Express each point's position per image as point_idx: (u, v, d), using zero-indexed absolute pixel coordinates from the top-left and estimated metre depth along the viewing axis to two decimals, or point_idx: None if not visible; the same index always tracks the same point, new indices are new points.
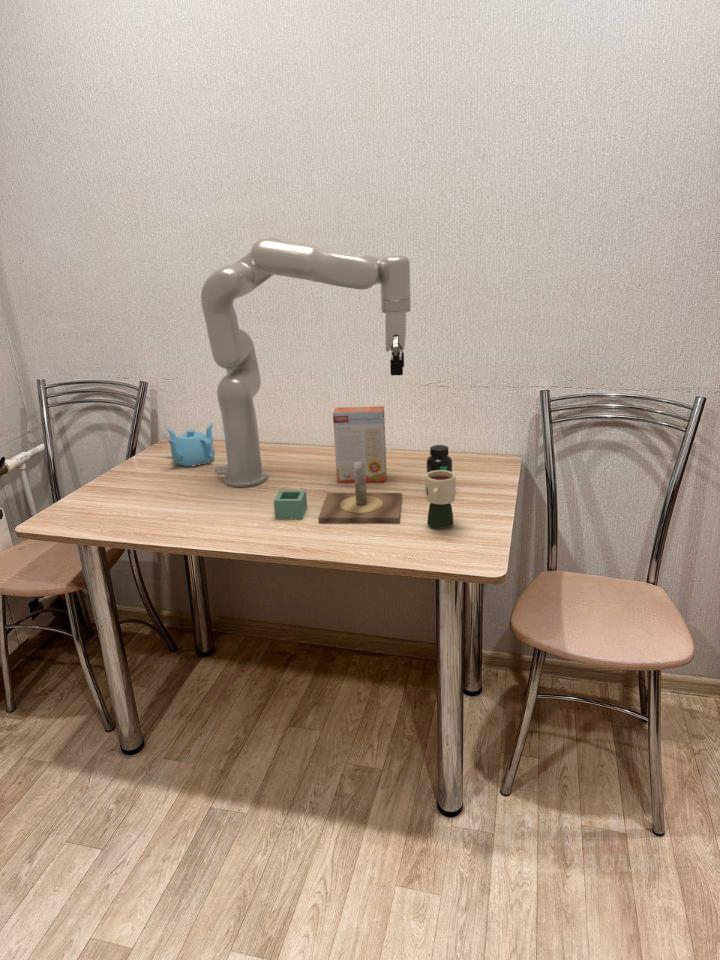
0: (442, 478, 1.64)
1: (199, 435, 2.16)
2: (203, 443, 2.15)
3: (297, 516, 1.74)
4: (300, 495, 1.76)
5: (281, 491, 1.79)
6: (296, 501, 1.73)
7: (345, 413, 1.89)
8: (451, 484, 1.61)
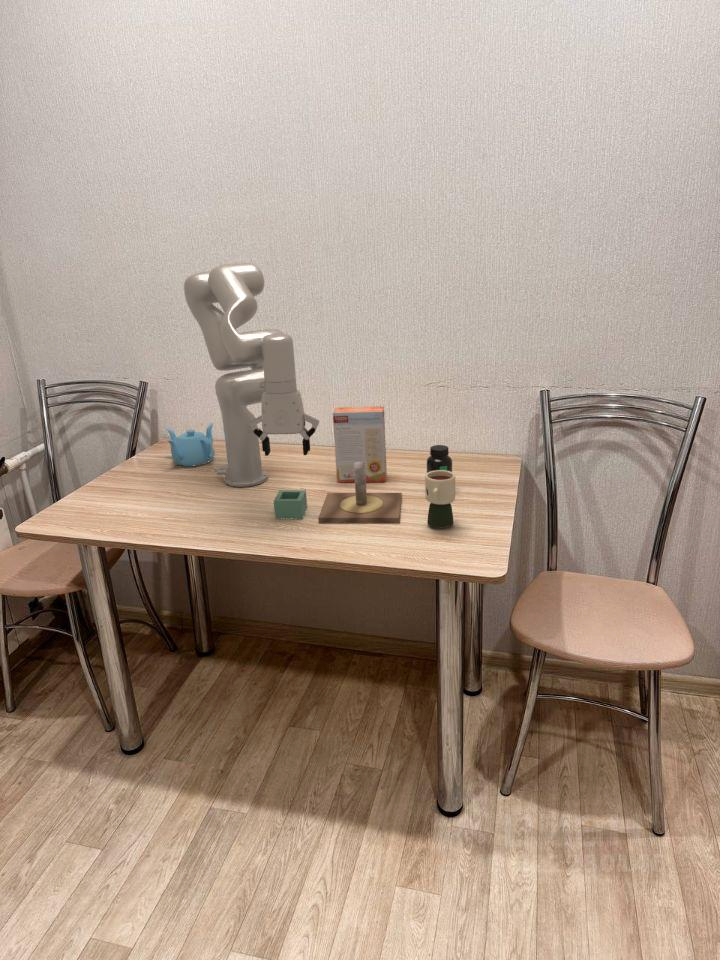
0: (442, 478, 1.64)
1: (199, 435, 2.16)
2: (203, 443, 2.15)
3: (297, 516, 1.74)
4: (300, 495, 1.76)
5: (281, 491, 1.79)
6: (296, 501, 1.73)
7: (345, 413, 1.89)
8: (451, 484, 1.61)
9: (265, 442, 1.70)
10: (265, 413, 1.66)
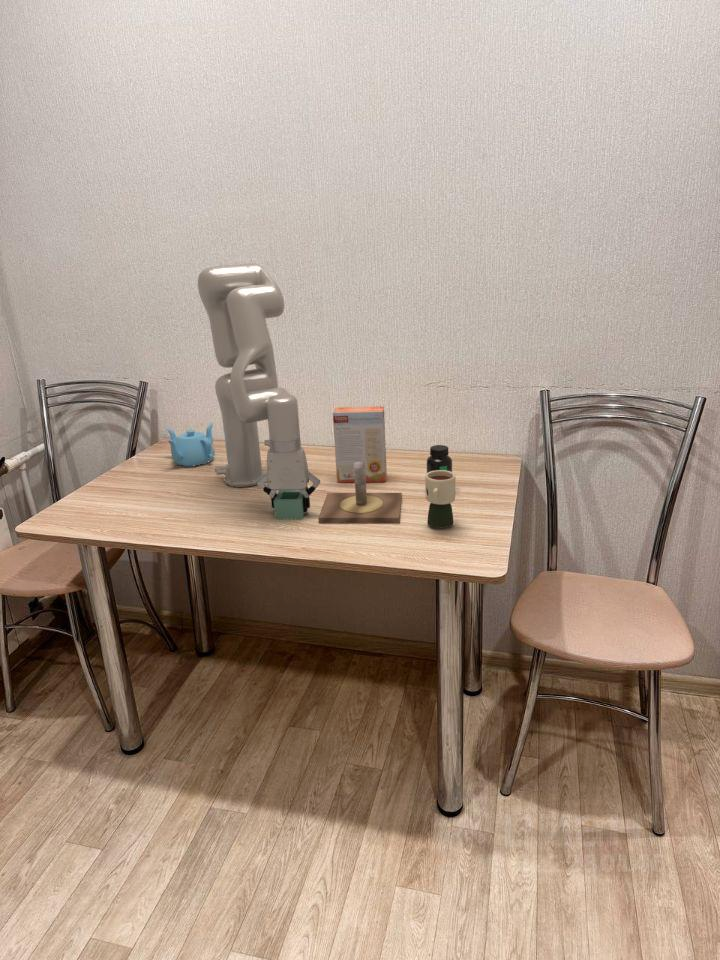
0: (442, 478, 1.64)
1: (199, 435, 2.16)
2: (203, 443, 2.15)
3: (297, 516, 1.74)
4: (300, 495, 1.76)
5: (281, 491, 1.79)
6: (296, 501, 1.73)
7: (345, 413, 1.89)
8: (451, 484, 1.61)
9: None
10: (270, 470, 1.71)
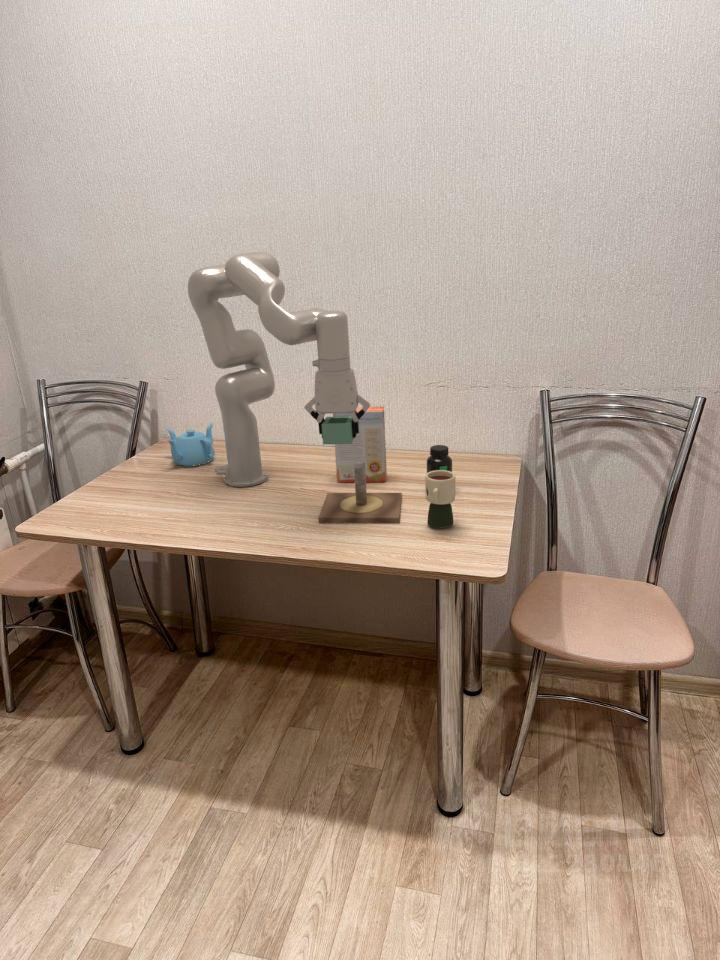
0: (442, 478, 1.64)
1: (199, 435, 2.16)
2: (203, 443, 2.15)
3: (346, 441, 1.67)
4: (349, 420, 1.69)
5: (328, 417, 1.72)
6: (345, 425, 1.66)
7: (345, 413, 1.89)
8: (451, 484, 1.61)
9: None
10: (318, 392, 1.64)
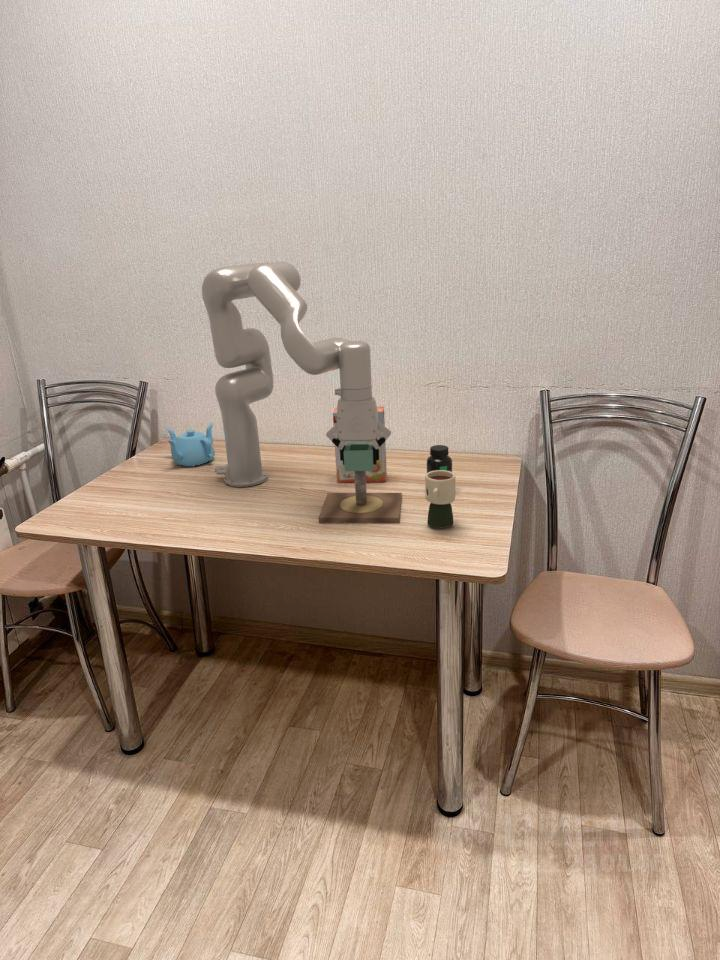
0: (442, 478, 1.64)
1: (199, 435, 2.16)
2: (203, 443, 2.15)
3: (367, 468, 1.70)
4: (370, 447, 1.71)
5: (349, 444, 1.74)
6: (367, 452, 1.68)
7: None
8: (451, 484, 1.61)
9: (343, 451, 1.71)
10: (341, 420, 1.67)
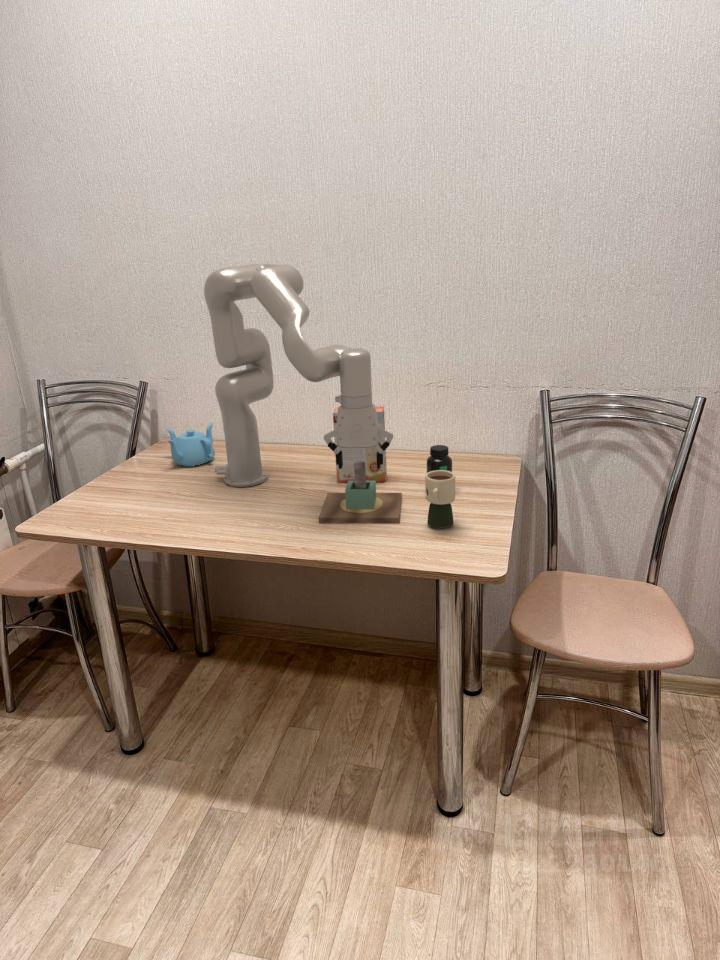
0: (442, 478, 1.64)
1: (199, 435, 2.16)
2: (203, 443, 2.15)
3: (368, 506, 1.74)
4: (371, 485, 1.75)
5: (351, 481, 1.78)
6: (368, 491, 1.72)
7: None
8: (451, 484, 1.61)
9: (339, 456, 1.72)
10: (341, 427, 1.68)
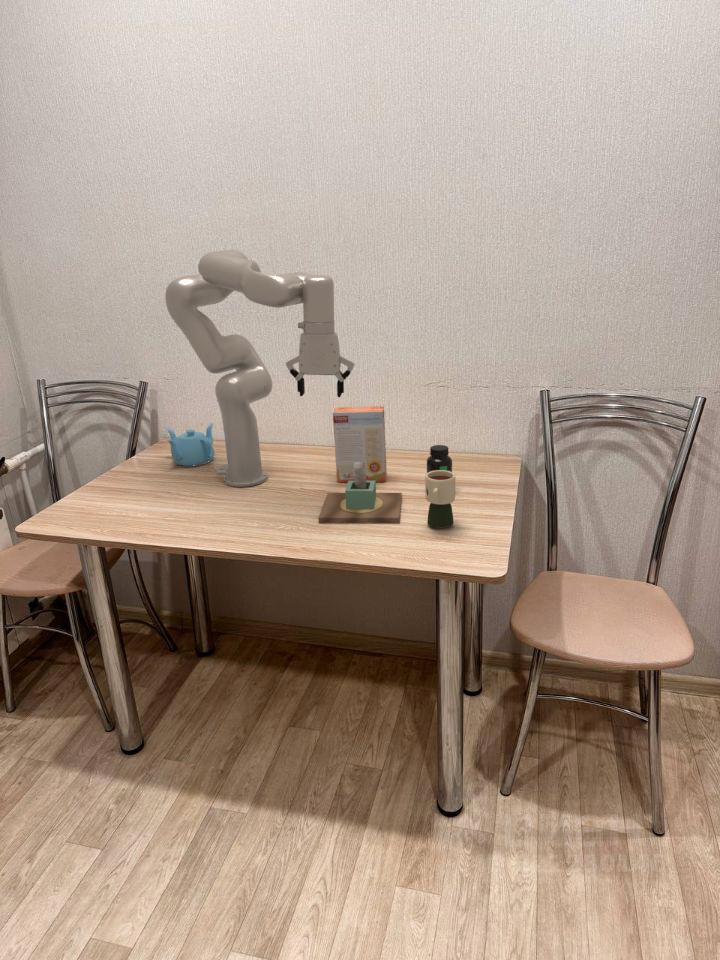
0: (442, 478, 1.64)
1: (199, 435, 2.16)
2: (203, 443, 2.15)
3: (368, 506, 1.74)
4: (371, 485, 1.75)
5: (351, 481, 1.78)
6: (368, 491, 1.72)
7: (345, 413, 1.89)
8: (451, 484, 1.61)
9: (300, 382, 1.75)
10: (303, 353, 1.70)
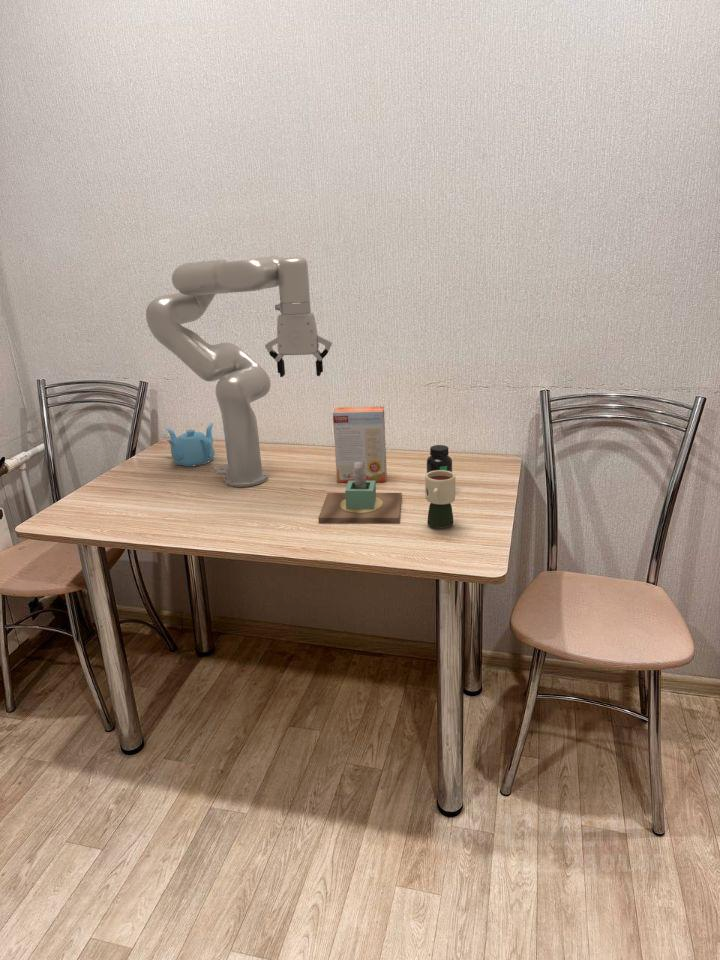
0: (442, 478, 1.64)
1: (199, 435, 2.16)
2: (203, 443, 2.15)
3: (368, 506, 1.74)
4: (371, 485, 1.75)
5: (351, 481, 1.78)
6: (368, 491, 1.72)
7: (345, 413, 1.89)
8: (451, 484, 1.61)
9: (280, 363, 1.79)
10: (280, 334, 1.75)
